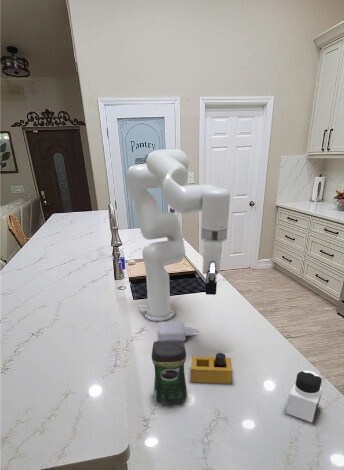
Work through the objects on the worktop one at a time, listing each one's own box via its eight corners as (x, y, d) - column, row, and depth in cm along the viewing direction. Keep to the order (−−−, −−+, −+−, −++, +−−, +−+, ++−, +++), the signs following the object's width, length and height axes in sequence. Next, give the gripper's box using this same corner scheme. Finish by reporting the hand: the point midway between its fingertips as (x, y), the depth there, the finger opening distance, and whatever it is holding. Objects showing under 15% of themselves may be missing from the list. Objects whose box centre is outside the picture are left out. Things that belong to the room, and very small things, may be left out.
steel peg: (214, 378, 104) (215, 358, 100) (214, 373, 106) (215, 352, 102) (224, 379, 103) (225, 358, 100) (223, 373, 106) (225, 353, 102)
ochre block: (190, 382, 103) (191, 369, 100) (191, 368, 109) (192, 356, 106) (231, 383, 101) (232, 370, 99) (229, 370, 108) (230, 357, 105)
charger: (199, 342, 123) (159, 343, 123) (197, 330, 131) (159, 331, 131) (199, 331, 121) (159, 332, 120) (197, 319, 129) (159, 320, 128)
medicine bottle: (312, 423, 87) (321, 388, 81) (285, 413, 90) (292, 378, 84) (318, 407, 92) (326, 372, 86) (292, 398, 95) (298, 364, 90)
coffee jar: (185, 386, 101) (185, 334, 92) (187, 405, 94) (187, 350, 85) (154, 388, 100) (151, 336, 92) (153, 406, 93) (150, 351, 85)
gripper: (201, 226, 103) (199, 276, 112) (200, 242, 89) (197, 299, 97) (225, 226, 103) (221, 277, 111) (228, 242, 88) (223, 300, 96)
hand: (210, 287), depth 104 cm, fingers open, 9 cm apart
